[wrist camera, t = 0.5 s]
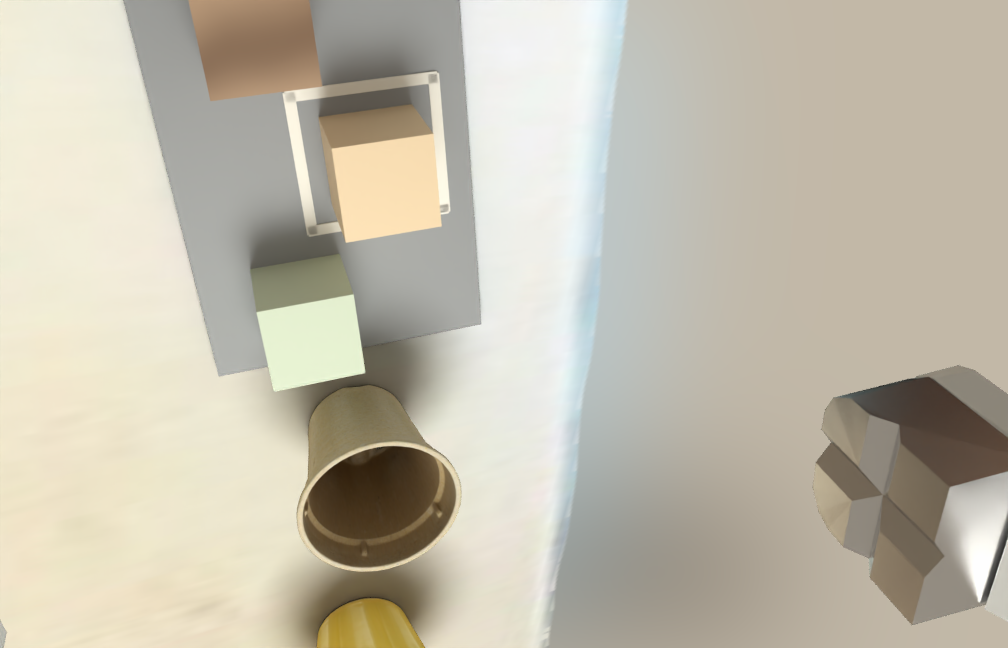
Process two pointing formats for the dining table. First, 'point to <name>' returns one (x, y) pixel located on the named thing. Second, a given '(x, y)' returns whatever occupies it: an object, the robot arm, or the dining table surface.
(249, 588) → the dining table surface
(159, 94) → the building board
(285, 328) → the sage block
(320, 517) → the flower pot
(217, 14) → the walnut block
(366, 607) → the plant pot
